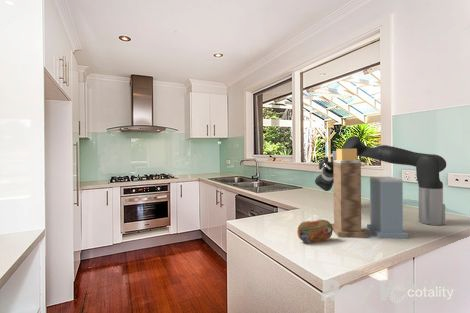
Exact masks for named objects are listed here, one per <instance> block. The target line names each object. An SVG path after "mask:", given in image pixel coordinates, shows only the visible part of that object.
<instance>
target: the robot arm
mask: <svg viewBox="0 0 470 313" xmlns="http://www.w3.org/2000/svg"><path fill="white" fill-rule="evenodd" d="M341 149H357V157H362V158H368V159H372V160H373V159H374V160H378V161H381V162H384V163H389V164H394V165H400V166H401V165H402V166H412V167H415V171H416V174H415V176H416V181H417V183H418V184H417V185H418V222H419V223H422V224H426V225H431V226H442V225H446V204H445V203H444V183H443V182H442V181H441V179H440V172H442V171H444V170H445V169H446V167H447V161H446V159H445V158H444V157H443V156H441V155H439V154H434V153H421V152H415V151H411V150H408V149H404V148H401V147H400V148H399V147H396V146H391V145H385V144H380V145H378V146H374V147H373V146H367V145H364V144H363V142H362V140H361V139H360V137H359V136H357V135H356V136H355V135H353V136H349V137H348V138H347V139H345V141H344V143H343V145H342V147H341ZM334 160H336V159H334ZM318 170H322V171H321V174H319V175H318V176H317V177H316V178H315V180H314V183H315V185H316V186H318V187H319V188H320V189H322V190H323V191H325V192H329V191H330V190H331V189H332V187H334V170H333V161H329V157H328V156H326V157H324V159H323V160H319V163H318Z"/></svg>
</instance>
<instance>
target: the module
mask: <svg viewBox="0 0 470 313" xmlns="http://www.w3.org/2000/svg"><path fill="white" fill-rule="evenodd" d="M335 159H336V160H341V161H353V160H358V156H357V149H342V148H336V150H333V151H332V160H335Z"/></svg>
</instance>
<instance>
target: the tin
mask: <svg viewBox="0 0 470 313" xmlns="http://www.w3.org/2000/svg"><path fill="white" fill-rule="evenodd" d="M331 224H332V223H331V222H330V221H328V220H325V219H314V220H307V221H306V220H305V221H302V222H301V223H300V224H299V225H298V227H297V237H298V239H299V240H300V241H302V242H303V243H305V244H314V243H321V242H326V241H328V240H330V238H331V237H332V235H333V232H334V231H333V229H332V225H331Z"/></svg>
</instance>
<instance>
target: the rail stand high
mask: <svg viewBox="0 0 470 313" xmlns="http://www.w3.org/2000/svg"><path fill="white" fill-rule="evenodd" d="M332 162H333V170H334V183H333V223H330V224H331V225H332V229H333V232H334V233H335V235H336V236H337V237H338V238H361V239H363V238H364V239H367V232H366V231H364V230H363V229H362V163H361V162H362V161H361V160H360V159H357V160H353V161H341V160H335V159H332Z"/></svg>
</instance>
